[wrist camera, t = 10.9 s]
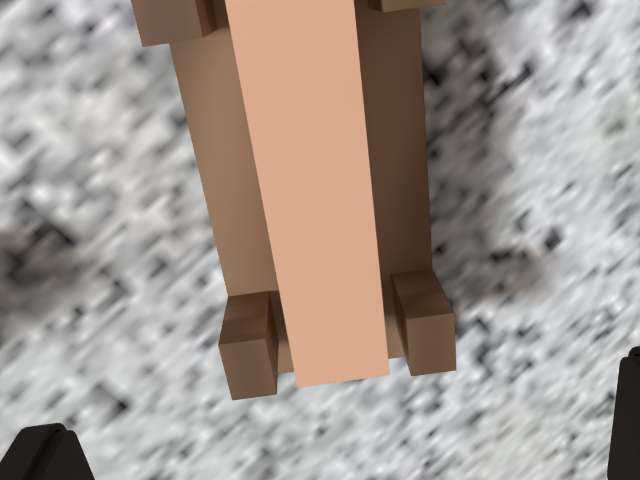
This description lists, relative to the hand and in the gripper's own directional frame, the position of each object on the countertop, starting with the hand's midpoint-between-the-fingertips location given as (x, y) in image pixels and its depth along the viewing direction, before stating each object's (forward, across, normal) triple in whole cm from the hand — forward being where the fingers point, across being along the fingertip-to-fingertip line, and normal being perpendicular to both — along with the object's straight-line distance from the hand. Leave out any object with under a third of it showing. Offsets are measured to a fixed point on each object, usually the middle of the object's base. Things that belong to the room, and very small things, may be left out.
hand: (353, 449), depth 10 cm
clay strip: (+16, 0, 0) cm, 16 cm away
